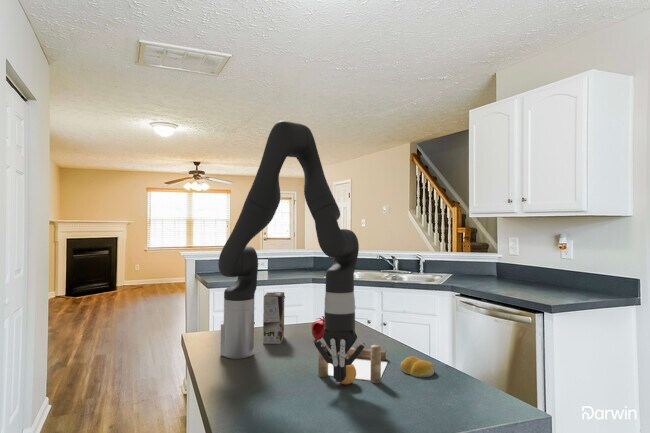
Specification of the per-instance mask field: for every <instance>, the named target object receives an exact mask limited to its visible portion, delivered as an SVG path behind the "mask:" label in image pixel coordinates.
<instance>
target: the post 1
mask: <svg viewBox="0 0 650 433" xmlns="http://www.w3.org/2000/svg"><path fill="white" fill-rule="evenodd" d="M325 343H326V342H325ZM326 348H327V349H328V350H329V347H328V345H327V344H326ZM317 363H318V376H319V377H321V378H327V377H329V376H328V364H329V363H327V362H326V361H325V359H324V358H323V356H322V355H321V353H320V352H319V351H318V362H317Z"/></svg>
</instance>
